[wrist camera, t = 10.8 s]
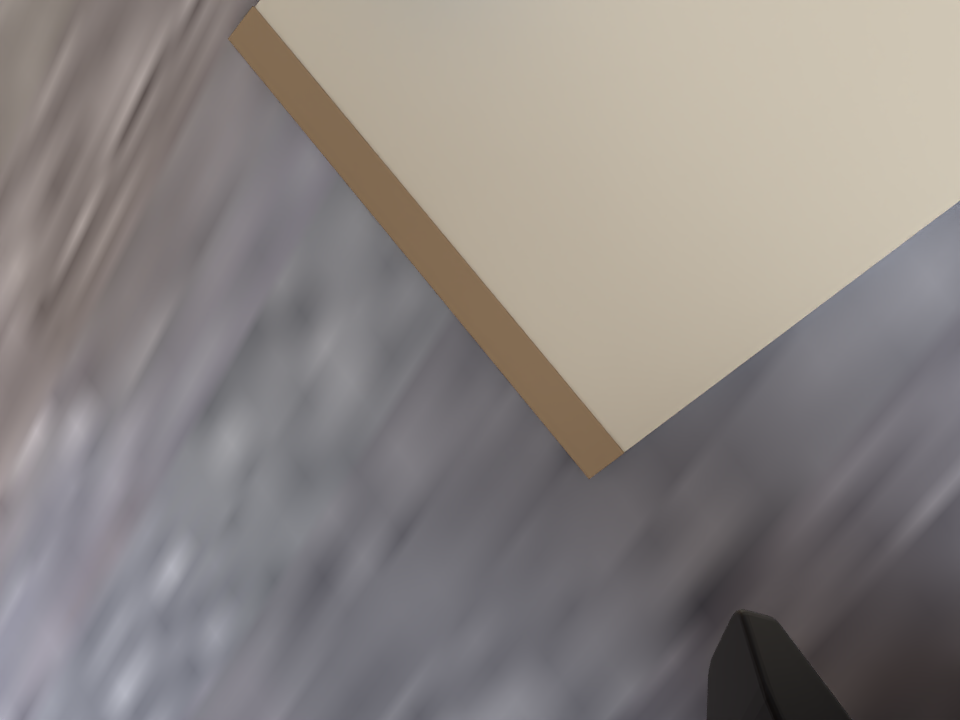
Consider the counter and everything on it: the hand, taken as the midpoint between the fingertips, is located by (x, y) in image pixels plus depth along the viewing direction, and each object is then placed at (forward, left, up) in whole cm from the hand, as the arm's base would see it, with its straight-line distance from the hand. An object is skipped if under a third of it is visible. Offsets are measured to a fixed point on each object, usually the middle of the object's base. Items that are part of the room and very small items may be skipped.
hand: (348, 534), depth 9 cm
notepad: (+6, -6, -13) cm, 15 cm away
